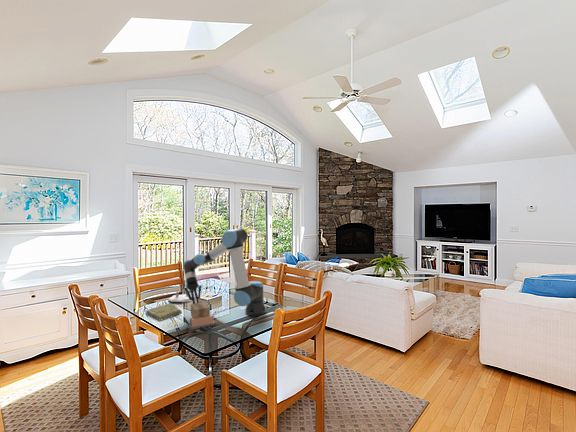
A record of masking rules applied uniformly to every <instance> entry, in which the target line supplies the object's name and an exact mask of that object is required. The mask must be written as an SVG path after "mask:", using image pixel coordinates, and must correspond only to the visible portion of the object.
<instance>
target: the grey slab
mask: <svg viewBox="0 0 576 432" xmlns="http://www.w3.org/2000/svg"><path fill="white" fill-rule="evenodd" d="M190 318H192V316H191V314H187V315H184V320H185V319H186V320H187V322H188V323H187V322H186V323H187V325H188V324H189V325H188V327H189V329H190V330H196V329H198V330H199V329H201V328H200V327H202V328H206V327H205V326H207V327H211V326H210V325H212V326H215V325H216V322H215V321H214V315H213V314H210V315H209V316H204V317H199V318H193V319H192V321H190ZM186 320H185V321H186ZM214 324H215V325H214Z"/></svg>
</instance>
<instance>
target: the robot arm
mask: <svg viewBox="0 0 576 432" xmlns="http://www.w3.org/2000/svg"><path fill="white" fill-rule="evenodd" d="M248 236H249V235H248V233H247V231H246V229H244V228H242V227H238V228H233V229H229V230H226V231H224V232H223V233H222V236H221V243H220V244H218V245H217V246H215V247H214V248H212V249H211V250H209V251H208V252H207V253H203V254H202V253H198V254H196V255H195V256H194V257H193V258H192V259H187V260H184V261H183V271H184V274H185V280H186V281H185V283H186V285H187V286H185V287H184V288H183V292H184V291H185V294H186V293H187V295H188V298H189V300H192V301H191V302H192V304H196V303H199V299H200V298H201V294H202V293H201V291H202V285H200V284H199V282H198V280H197V274H196V270H197V269H198V268H199V267H201V266H203V265H206V264H208V263H209V264H210V263H212V262H214V261H215V260H216V259H217V258H219V257H221V256H222V255H224V254H226V252H229V256H230V261H231V265H232V269H233V274H234V278H235V284H236V285H235V287H234V289H235V292H234V294H233V300H234V302H235V303H236V304H237V305H238V306H240V307H245V309H244V311H245V314H246V315H248V316H250V317H251V316H253V317H258V316H262V315H264V314H265V313H266V312H267V311H266V305H265V303H264V283H263V282H262V281H258V280H250V281H249V277H248V273H247V269H246V268H247V267H246V264H245V258H244V254H243V247H244V243H245V242H247V240H248ZM197 289H198V292H197Z"/></svg>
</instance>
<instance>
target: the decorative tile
mask: <svg viewBox="0 0 576 432" xmlns="http://www.w3.org/2000/svg"><path fill="white" fill-rule="evenodd" d="M147 313H148V314H147ZM179 313H180V314H182V310H181V308H178V307H177V306H176V305H175V304H172V303H166V304H162V305H159V306H158V305H157V306H156V307H151V308H150V309H147V310H146V314H147V315H149V314H150V315H149V316H151V315H152V316H151V317H153V316H154V317H153V318H155V317H156V318H155V319H157V318H158V319H157V320H159V319H160V320H159V321H162V320H161V319H163V320H165V318H166V319H168V317H169V318H171V316H172V317H174V315H175V316H177V315H180V314H179Z"/></svg>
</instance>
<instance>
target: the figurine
mask: <svg viewBox="0 0 576 432" xmlns="http://www.w3.org/2000/svg"><path fill="white" fill-rule="evenodd" d="M179 286H182V289H184V288H186V287H187V284H186V279H185V280H183V283H179ZM168 300H169V301H170V302H172V303H173V302H176V303H188V302H189V303H190V302H193V301H192V300H189V298H188V295H187V293H186V292H185V293H184V291H182V293H181V294H180V293H179V292H178V291H177V292H175V294H174V295H172V296H171V297H169V298H168Z"/></svg>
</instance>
